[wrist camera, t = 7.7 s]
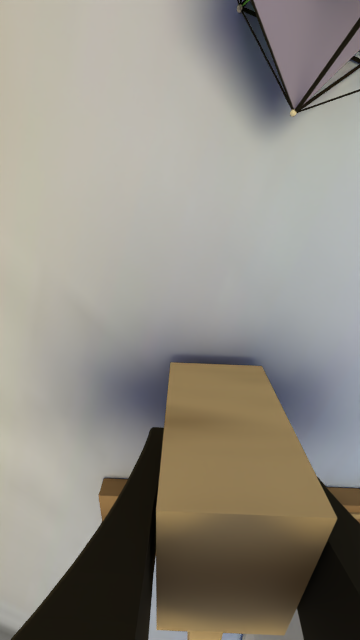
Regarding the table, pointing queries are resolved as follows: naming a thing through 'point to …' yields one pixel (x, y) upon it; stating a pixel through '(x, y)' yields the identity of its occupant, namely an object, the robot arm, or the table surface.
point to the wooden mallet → (233, 506)
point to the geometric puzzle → (307, 43)
